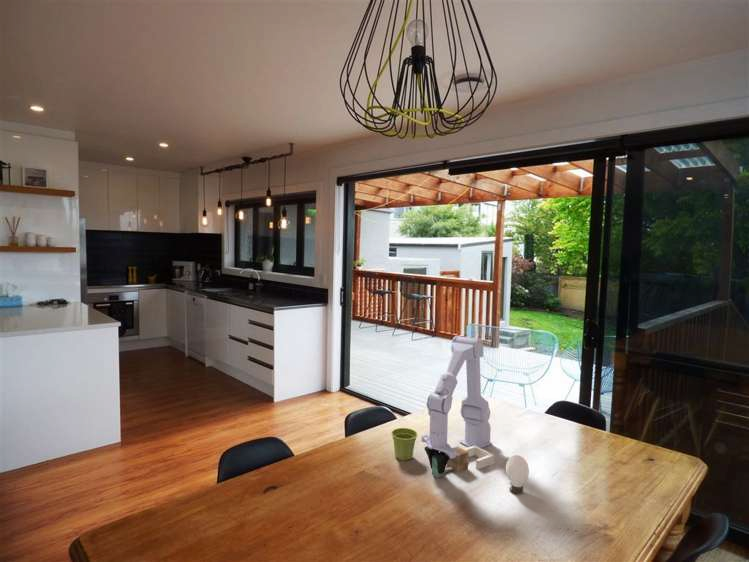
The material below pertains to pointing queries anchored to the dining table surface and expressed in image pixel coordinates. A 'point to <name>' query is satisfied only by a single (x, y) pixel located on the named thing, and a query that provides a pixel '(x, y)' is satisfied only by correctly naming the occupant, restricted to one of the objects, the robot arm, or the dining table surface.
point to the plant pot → (404, 442)
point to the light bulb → (517, 473)
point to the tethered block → (452, 463)
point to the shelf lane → (480, 456)
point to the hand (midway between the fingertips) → (437, 470)
